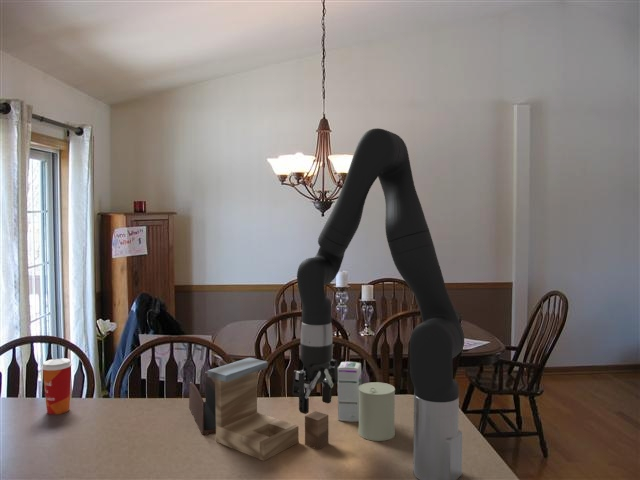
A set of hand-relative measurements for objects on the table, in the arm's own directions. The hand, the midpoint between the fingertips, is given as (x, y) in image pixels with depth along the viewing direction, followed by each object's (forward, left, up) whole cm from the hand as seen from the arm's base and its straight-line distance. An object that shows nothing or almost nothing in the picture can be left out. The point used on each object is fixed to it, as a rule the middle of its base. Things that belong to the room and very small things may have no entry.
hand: (315, 407), depth 128 cm
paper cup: (+70, +28, -9) cm, 76 cm away
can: (-8, -14, -9) cm, 19 cm away
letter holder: (+32, +5, -9) cm, 33 cm away
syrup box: (+3, -18, -9) cm, 20 cm away
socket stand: (+12, +8, -9) cm, 17 cm away
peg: (0, 0, -9) cm, 9 cm away
